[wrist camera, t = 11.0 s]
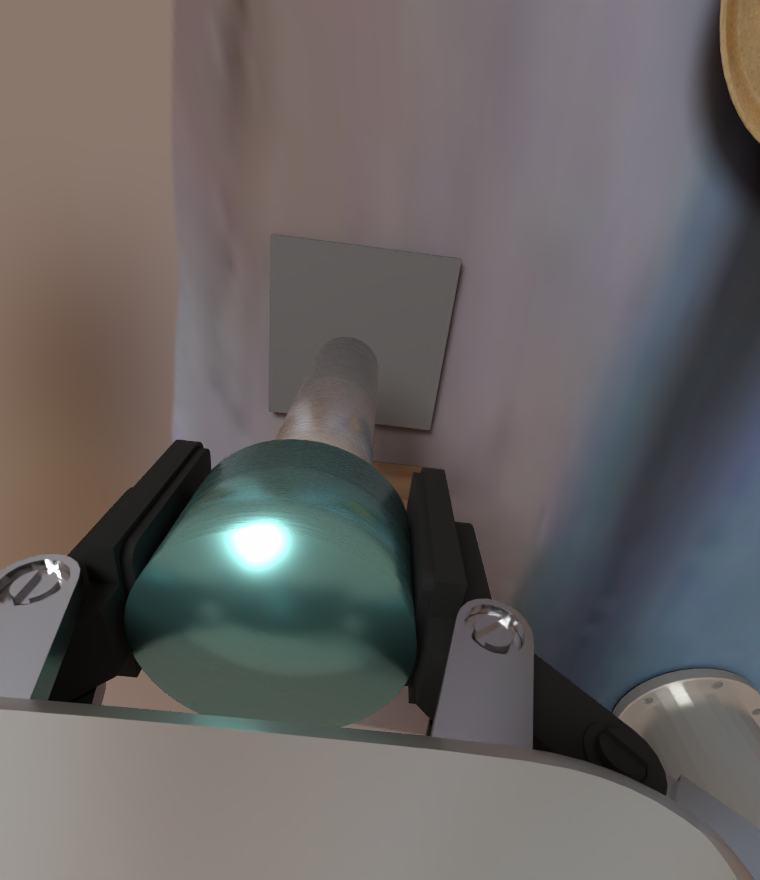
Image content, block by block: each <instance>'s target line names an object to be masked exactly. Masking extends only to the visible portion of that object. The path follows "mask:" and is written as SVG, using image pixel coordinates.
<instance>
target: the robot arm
mask: <svg viewBox="0 0 760 880" xmlns="http://www.w3.org/2000/svg"><path fill="white" fill-rule="evenodd" d="M210 472H211V458H210V451H209V449H206V448H203V445H202V443H201V442H194V441H186V440H176V441H175V442H174V443H173V444H172V445H171V446H170V447H169V448H168V449H167V450H166V452H165V453H164V454H163V455H162V456H161V457H160V458H159V460H158V461H157V462H156V463H155V464H154V465H153V466H152V467H151V468H150V469H149V470H148V471H147V473H146V474H145V475H144V476H143V477H142V478H141V479H140V480H139V481H138V483H137V484H136V485H135V486H134V487H132V488H130V489H128V490H127V491H126V492H125V493H124V494H123V495H122V496H121V498H120V499H119V500H118V501H117V502H116V503H115V504H114V505H113V507H111V509H110V510H109V511H108V512H107V513H106V514H105V515H104V516H103V517H102V518H101V519H100V521H99V522H98V523H97V524H96V525H95V526H94V527H93V528H92V530H90V532H89V533H88V534H87V535H86V536H85V537H84V538H83V539H82V540H81V541H80V542H79V543H78V545H77V546H76V547H75V548H74V549H73V550H72V551H71V552H70V553H69V554H68V556H64V555H60V554H45V555H39V556H33V557H30V558H27V559H24V560H21V561H18V562H16V563H14V564H12V565H10V566H8V567H6V568H4V569H3V570H1V571H0V880H760V693H759V692H758V691H757V689H756V688H755V687H754V686H753V685H752V684H751V683H750V682H749V681H748V680H747V679H745V678H743V677H741V676H739V675H737V674H734V673H731V672H728V671H724V670H718V669H710V668H694V669H686V670H679V671H674V672H670V673H666V674H663V675H660V676H657V677H655V678H652V679H650V680H648V681H646V682H644V683H642V684H640V685H638V686H637V687H635V688H634V689H632V690H631V691H629V692H628V693H627V694H626V695H625V696H624V697H623V698H622V699H621V700H620V701H619V703H618V704H617V705H616V707H615V708H614V710H613V713H611V712H610V711H609V710H607V709H606V708H605V707H603V706H602V705H601V704H599V703H598V702H597V701H596V700H594V699H593V698H592V697H590V696H589V695H588V694H586V693H585V692H584V691H583V690H581V689H580V688H579V687H577V686H576V685H575V684H573V683H572V682H571V681H570V680H568V679H567V678H566V677H564V676H563V675H562V674H560V673H559V672H558V671H556V670H555V669H554V668H553V667H551V666H550V665H549V664H547V663H546V662H545V661H543V660H542V659H541V658H540V657H538V656H537V655H536V654H534V638H533V633H532V630H531V628H530V626H529V624H528V622H527V621H526V620H525V619H524V617H523V616H522V615H521V614H520V613H519V612H517V611H516V610H515V609H513V608H512V607H510V606H509V605H507V604H504V603H502V602H499V601H496V600H492V599H491V595H490V591H489V587H488V583H487V579H486V575H485V571H484V567H483V563H482V559H481V555H480V551H479V547H478V543H477V539H476V536H475V532H474V528H473V526H472V524H470V523H460V522H455V521H454V516H453V511H452V506H451V500H450V495H449V490H448V485H447V480H446V475H445V471H444V470H442V469H433V468H424V467H422V469H421V473H418V472H413V476H412V481H411V487H410V492H409V498H408V503H407V509H406V512H407V515H408V519H409V524H410V539H411V556H412V573H413V590H414V606H415V623H416V640H417V652H416V660H415V664H414V667H413V670H412V673H411V675H410V676H409V678H408V680H407V682H406V684H405V685H404V686H408V691H409V703H413V704H417V706H418V707H419V708H420V709H421V710H422V711H423V712H424V713H425V714H426V715H427V716H428V717H429V720H428V725H427V729H426V734H425V736H422V735H412V734H402V733H391V732H381V731H370V730H360V729H351V728H340V727H330V726H320V725H310V724H300V723H289V722H279V721H268V720H257V719H246V718H236V717H225V716H214V715H203V714H193V713H182V712H171V711H159V710H149V709H138V708H127V707H115V706H104V705H101V704H102V701H103V697H104V693H105V689H106V681H108V680H110V679H112V678H114V677H116V676H127V677H138V675H139V673H140V671H141V669H142V668H141V666H140V665H139V663H138V662H137V660H136V659H135V657H134V655H133V653H132V651H131V649H130V646H129V643H128V640H127V636H126V633H125V623H124V615H125V606H126V602H127V599H128V596H129V593H130V591H131V589H132V587H133V585H134V584H135V582H136V580H137V578H138V577H139V575H140V574H141V572H142V571H143V570H144V568H145V567H146V565H147V564H148V562H149V561H150V559H151V558H152V556H153V555H154V553H155V552H156V550H157V549H158V547H159V546H160V544H161V543H162V541H163V540H164V538H165V537H166V535H167V534H168V532H169V531H170V529H171V528H172V526H173V525H174V523H175V522H176V520H177V519H178V518H179V516H180V515H181V513H182V512H183V510H184V509H185V507H186V506H187V504H188V503H189V501H190V500H191V498H192V497H193V495H194V494H195V492H196V491H197V489H198V488H199V486H200V485H201V483H202V482H203V480H204V479H205V478H206V477H207V475H208V474H209V473H210Z"/></svg>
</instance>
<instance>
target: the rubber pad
mask: <svg viewBox="0 0 760 880" xmlns="http://www.w3.org/2000/svg"><path fill="white" fill-rule="evenodd" d="M461 261H462V259H460V258H452V257H445V256H437V255H429V254H422V253H414V252H406V251H399V250H391V249H383V248H376V247H368V246H360V245H353V244H345V243H337V242H330V241H322V240H314V239H307V238H299V237H291V236H284V235H276V234H272V235H271V262H270V357H269V411H270V412H279V413H288V411H289V409H290V407H291V405H292V403H293V401H294V399H295V397H296V395H297V393H298V391H299V389H300V387H301V385H302V383H303V381H304V379H305V377H306V375H307V373H308V370H309V368H310V366H311V364H312V362H313V360H314V358H315V356H316V354H317V352H318V351H319V349H320V348H321V347H322V346H323V345H324V344H325V343H326V342H328V341H330V340H332V339H334V338H338V337H352V338H356V339H358V340H360V341H362V342H364V343H365V344H367V345H368V346H369V347H370V348H371V349H372V351H373V352H374V354H375V356H376V358H377V361H378V366H379V373H378V387H377V401H376V415H375V424H380V425H388V426H397V427H405V428H414V429H422V430H430V427H431V422H432V417H433V411H434V406H435V401H436V395H437V390H438V385H439V379H440V374H441V368H442V363H443V358H444V352H445V347H446V342H447V336H448V331H449V326H450V320H451V315H452V310H453V304H454V299H455V293H456V288H457V283H458V277H459V272H460V267H461Z"/></svg>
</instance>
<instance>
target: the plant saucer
mask: <svg viewBox="0 0 760 880" xmlns="http://www.w3.org/2000/svg"><path fill="white" fill-rule="evenodd" d="M720 53H721V61H722V67H723V72H724V77H725V81H726V85H727V88H728V91H729V95H730V98H731V100H732V102H733V105H734V107H735V109H736V111H737V113H738V115H739V117H740V119H741V120H742V122H743V124H744V125H745V127H746V128H747V130H748V131H749V132H750V133H751V135H752V136H753V137H754V138H755V139H756V140H757V142H758V143H759V144H760V0H721V6H720Z"/></svg>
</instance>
